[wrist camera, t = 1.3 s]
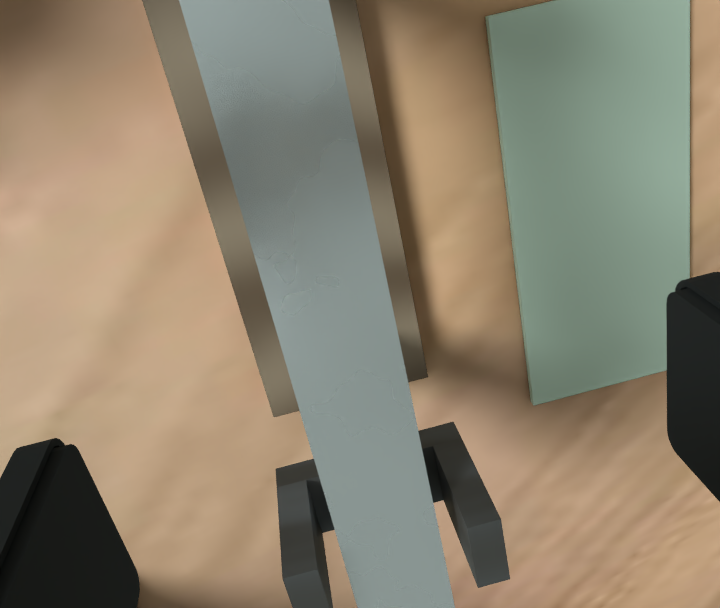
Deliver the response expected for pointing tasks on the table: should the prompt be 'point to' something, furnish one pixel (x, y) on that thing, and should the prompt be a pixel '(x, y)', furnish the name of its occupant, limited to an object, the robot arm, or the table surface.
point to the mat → (594, 182)
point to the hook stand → (301, 480)
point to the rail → (324, 282)
